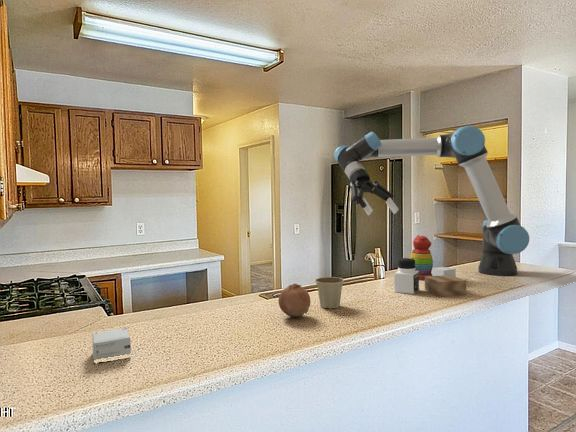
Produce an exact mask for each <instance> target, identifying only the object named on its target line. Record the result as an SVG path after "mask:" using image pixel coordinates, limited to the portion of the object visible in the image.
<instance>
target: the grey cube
mask: <svg viewBox="0 0 576 432" xmlns="http://www.w3.org/2000/svg"><path fill="white" fill-rule="evenodd" d="M456 271H457V270H456V268H452V267H448V266H438V267H432V272H431V273H432V276H442V275H452V276H454V277H457V275H456Z"/></svg>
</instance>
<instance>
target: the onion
mask: <svg viewBox="0 0 576 432" xmlns="http://www.w3.org/2000/svg"><path fill="white" fill-rule="evenodd" d="M278 306H279V308H280V310H281V311H282V312H283V313H284V314H286V316H288V317H289V318H298V317H303V315H304V314H308V312H309V310H310V309H309V308H310V306H311V297H310V294H309V292H308V291H307V290H306V289H305V288H303V287H302V285H300V284H298V283H293V284H290V285H288V286H287V287H285V288H283V290H282V291H281V292H280V294H279V297H278Z"/></svg>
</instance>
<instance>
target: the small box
mask: <svg viewBox="0 0 576 432" xmlns="http://www.w3.org/2000/svg"><path fill="white" fill-rule="evenodd" d="M91 335H92V337H91V338H92V360H93V359H94V360H96V359H101V358H108V357H114V356H120V355H125V354H130V353H131V354H132V351H131V337H130V333H129V329H128V327H125V328H119V329H118V328H117V329H111V330H110V329H109V330H105V331H99V332H94V333H93V332H92V334H91Z"/></svg>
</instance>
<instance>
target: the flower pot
mask: <svg viewBox="0 0 576 432" xmlns="http://www.w3.org/2000/svg"><path fill="white" fill-rule="evenodd" d="M314 282H315V283H316V287H317V294H318V299H319V306H320V307H321V308H322V307H323V309H330V310H333V309H332V308H334V309H338V308H339V307H340V306H341V297H342V291H343V286H344V282H345V279H344V278H342V277H336V276H324V277H317V278H315V280H314Z"/></svg>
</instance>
